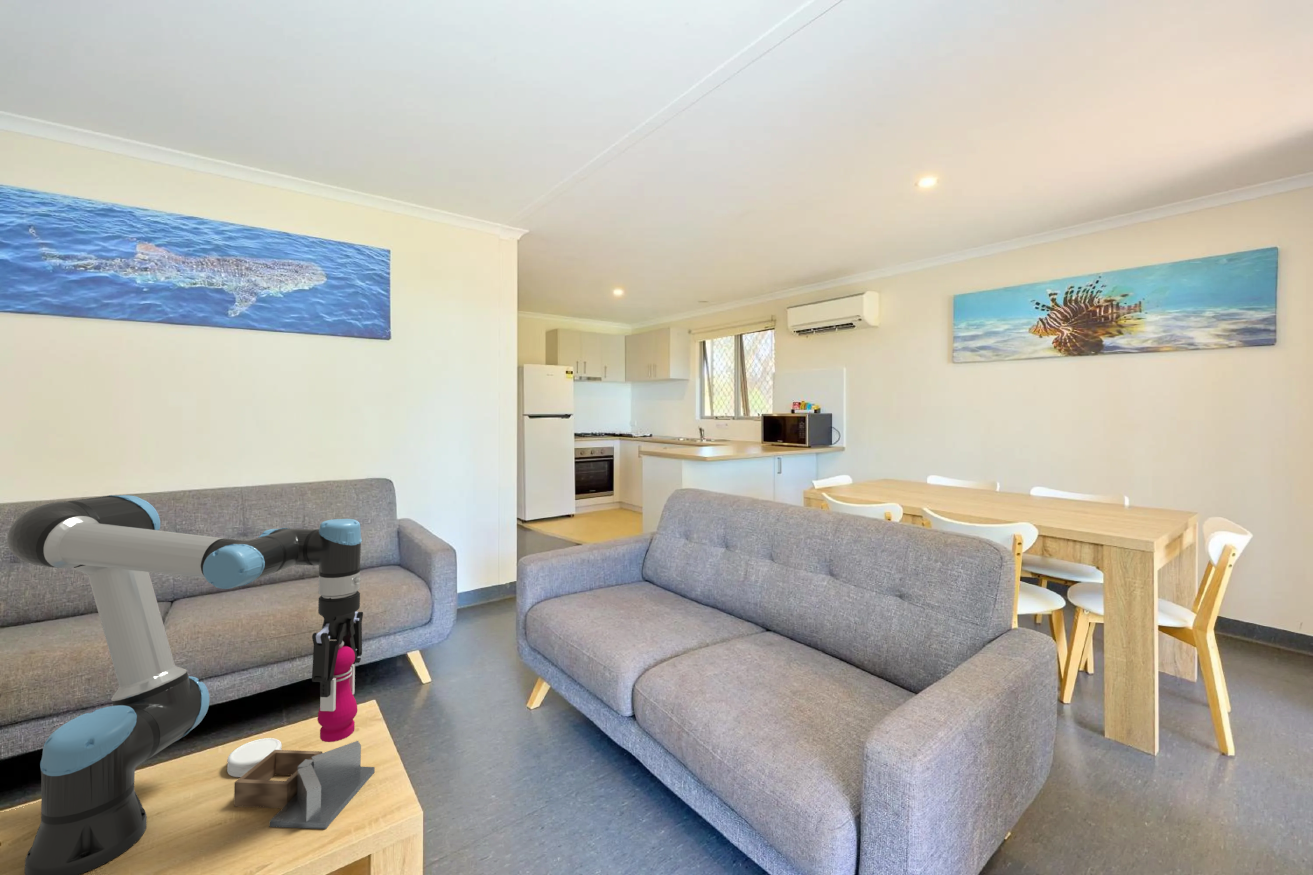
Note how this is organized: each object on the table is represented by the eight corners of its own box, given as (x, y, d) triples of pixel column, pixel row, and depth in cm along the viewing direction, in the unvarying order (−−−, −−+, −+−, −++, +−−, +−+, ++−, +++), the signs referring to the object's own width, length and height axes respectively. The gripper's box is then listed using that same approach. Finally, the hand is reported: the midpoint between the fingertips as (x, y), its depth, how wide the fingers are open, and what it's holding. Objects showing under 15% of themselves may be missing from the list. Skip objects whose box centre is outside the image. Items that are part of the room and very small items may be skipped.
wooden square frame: (234, 806, 107) (234, 782, 107) (274, 771, 118) (274, 749, 118) (286, 808, 107) (287, 784, 107) (322, 773, 118) (322, 751, 118)
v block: (325, 828, 101) (326, 792, 101) (269, 826, 102) (270, 790, 102) (374, 772, 118) (375, 740, 118) (326, 770, 119) (326, 739, 119)
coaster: (292, 753, 125) (292, 739, 125) (254, 781, 115) (254, 765, 115) (255, 749, 126) (255, 734, 126) (215, 775, 116) (215, 760, 116)
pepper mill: (338, 746, 106) (340, 648, 105) (308, 741, 107) (310, 644, 107) (364, 726, 113) (366, 635, 113) (336, 722, 114) (338, 631, 114)
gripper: (328, 608, 100) (326, 727, 100) (381, 580, 119) (379, 681, 119) (290, 607, 100) (288, 726, 101) (349, 579, 119) (347, 680, 119)
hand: (337, 701), depth 110 cm, fingers closed on pepper mill, 6 cm apart
